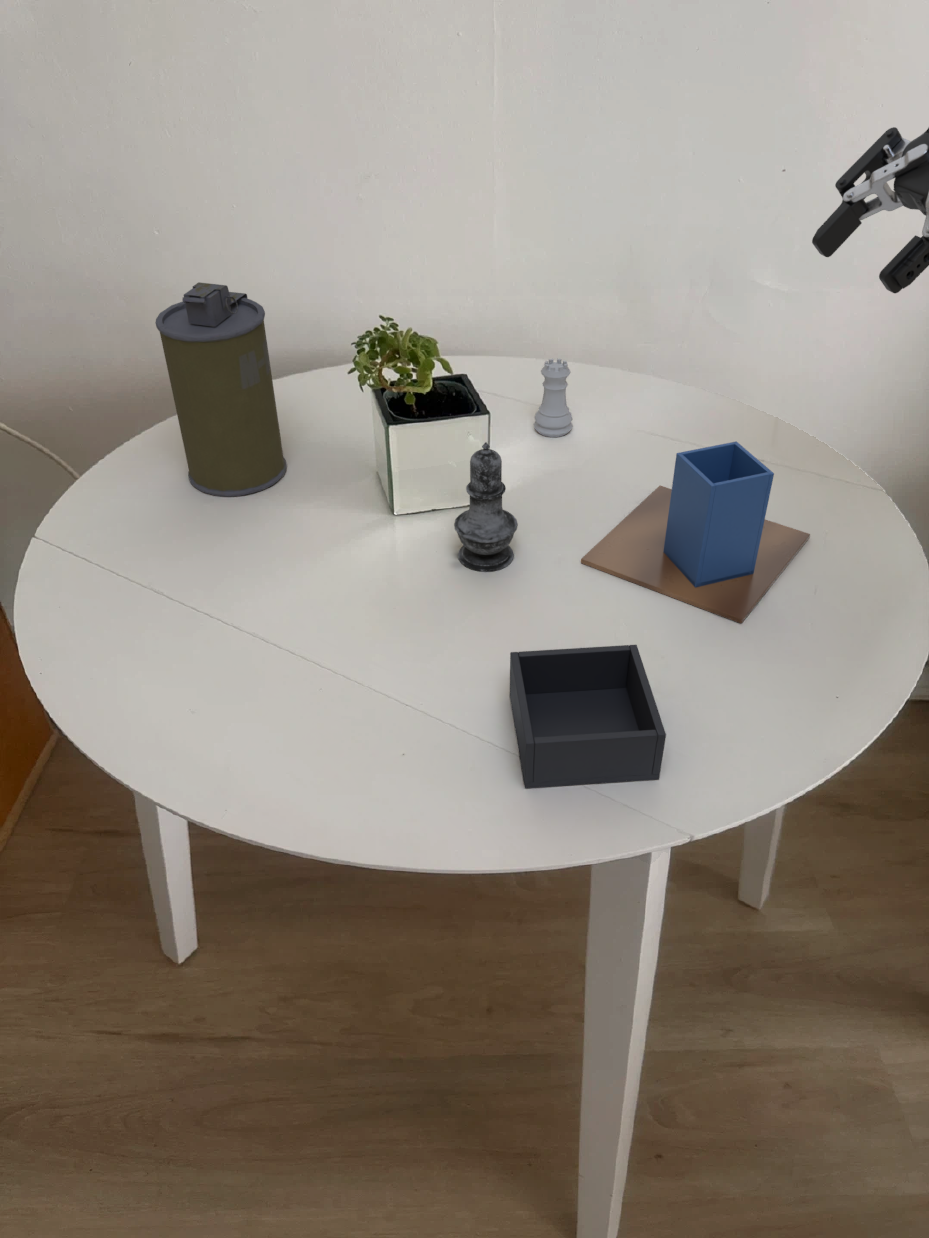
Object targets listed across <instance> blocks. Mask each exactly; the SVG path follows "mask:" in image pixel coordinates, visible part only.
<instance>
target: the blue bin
mask: <svg viewBox="0 0 929 1238" xmlns="http://www.w3.org/2000/svg"><path fill="white" fill-rule="evenodd" d="M675 454H676V455H675V461H674V462H675V463H674V470H673V478H672V483H671V489H672V491H671V499H670V506H669V514H668V521H667V529H666V536H665V544H664V551H663V552H664V553H665V554H666V555H667V556H668V558H669V559H670V560H671V561H672V562H673V563H674V564H675V565H676V567H677V568H678V569H679V570H680V571H681V572H682V573H683V574H684V575H685V577H686V578H687V579H688V580H689V581H690V582H691V583H692V584H693V586H694V587H700V586H704V585H708V584H713V583H717V582H721V581H725V580H730V579H734V578H738V577H742V576H747V575H751V574H754V569H755V564H756V559H757V554H758V550H759V545H760V540H761V535H762V530H763V525H764V520H766V515H767V510H768V506H769V501H770V496H771V490H772V485H773V481H774V477H775V476H774V475H775V473H774V472H773V471H772V470H771V469H770V468H768V467H767V466H766V465H765V464H764V463H763V462H761V461H760V459H758V458H757V457H755V455H753V454H752V453H751V452H750V451H748V449H746V448H745V447H744V446H743V445H741V444H740V443H739V442H738V441H732V442H726V443H721V444H716V445H711V446H706V447H700V448H695V449H691V450H685V451H680V452H676V453H675Z"/></svg>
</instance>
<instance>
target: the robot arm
mask: <svg viewBox="0 0 929 1238" xmlns="http://www.w3.org/2000/svg"><path fill="white" fill-rule="evenodd" d="M864 174H865V177H864V180H863V181H861V183H860V184H857V185H855V183H856V182H857V181H858V180H859V179H860V178H861V177H862V176H863V175H864ZM893 179H894V181H893V190H892V189H891V186H890V185H889V183H888V182H889V181H891V180H893ZM834 187H835V189H836V190H837V192H838V193H839V195H840V196H841V198H842V200H841V203H840V204H839V206H838V207H837V208H836V209H835V210H834V211H833V212H832V213H831V214H830V216H829V217H828V218H827V219H826V220H825V221H824V222H823V223H822V224H821V225H820V226H819V227H818V228H817V229H816V232H815V234H814V235H813V237H812V240H811V243H812V245H813V246H814V248H815V249H816V250H817V252H818V253H819V254H820V255H821V256H823V257H825V258H830V257H832V255H834V254H835V252H836V251H837V250H839V249H840V248H841V247H842V245H843V244H844V243H845V242H846V241H847V239H849V238H850V236H851V235H852V234H853V233H854V232H856V230H857V229H858V228H859V227H860V226H861V225H862V223H863V222H862V221H864V220H865V219H868V218H869V217H871V216H874V215H875V214H878V213H879V212H880V213H881V212H882V211H886V212H892V211H896V210H897V209H899V208H901V207H904V208H906V209H909V210H915V211H916V210H917V211H920V213H921V214H923V216H925V218H924V223H923V227H922V230H921V235H922V236H921V237H920V236H918V235H914V236H913V237H912V238H911V239H910V240H909V241H908V242H907V243H906V244H905V246H904V247H902V249H901V250H899V252H898V253H897V254H896V255H895V256H894V257H893V258H892V259H891V260H890V261H889V262H888V263H887V264H886V265H885V266H884V268H882V270H881V271H880V272H879V275H878V277H879V278H878V279H879V281H880V282H881V284H882V285H883V286H884V288H885V289H886V290H887V291H888V292H890V293H892V294H898V293H900V292H901V291H902V289H906V288H907V287H909V286H911V284H912V283H913V282H914V281H915V280H917V278H918V277H919V276H920V275H921V274H922V273H924V271H925V270H926V269H927V268H928V267H929V127H927V129H926V130H925V131H924V132H923V133H922V134H920V135H919V136H917V137H916V138H914V139H913V140H909V139H906V138H904V137H903V136H902V134H901V133H900V131H899V129H898V127H894V126H893V127H890V128H888V129H886V130H885V132H884V133H883V134H882V135H880V136H879V138H878V139H876V141H875V142H874V143H873V144H872V145H871V146H870V147H869V148H868V149H867V150H866V151H865V152H864V153H863V154H862V155H861V156H860V157H858V159H857V160H856V161H855V162H853V164H852V165H851V166H850V167H849V168H848V169H847V170H846V171H845V172H844V173H843V174H842V175H841V176H840V177H839V178H838V179H837V180H836V182H835V186H834ZM872 195H876V197H874V198H872V199H870V200H868V201H865V199H866V198H867V197H869V196H872Z"/></svg>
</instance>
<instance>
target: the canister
mask: <svg viewBox="0 0 929 1238" xmlns="http://www.w3.org/2000/svg"><path fill="white" fill-rule="evenodd" d="M265 317H266V312H265V309H264V306H262V305H261V304H260V303H258V302H257V301H255V300H253V299H250V298H248V293H244V292H235V291H229V287H228V285H226V284H217V283H207V282H197V283H196V284H194V285H193V286H192V288H190V290H188V291H186V292H185V293H183V297H182V301H180V302H177V303H173V304H171V305H170V306H168V307H167V308H165V309H164V310H162V311H161V312H159V314H158V315H157V316H156V318H155V327H156V329H157V330H158V332H159V335H160V340H161V345H162V349H163V354H164V360H165V364H166V368H167V373H168V377H169V383H170V387H171V393H172V398H173V402H174V406H175V411H176V417H177V421H178V425H179V429H180V435H181V439H182V443H183V448H184V453H185V459H186V462H187V463H186V464H187V468H188V472H187V474H188V475H187V476H188V480H189V483H190V485H192V486H193V487H194V488H195V489H196V490H198V491H200V492H202V493H204V494H207V495H211V496H217V497H240V496H246V495H250V494H254V493H259V492H262V491H264V490H266V489H268V488H270V487H271V486H273V485H275V484H276V483H278V481H280V480H281V479H282V478H283V477H284V476H285V474H286V472H287V467H288V466H287V465H288V464H287V460H286V458H285V457H284V451H283V444H282V437H281V431H280V424H279V423H280V422H279V416H278V410H277V403H276V395H275V389H274V381H273V376H272V375H273V374H272V368H271V362H270V361H271V360H270V353H269V346H268V339H267V333H266V332H267V331H266V327H265V325H266V324H265Z"/></svg>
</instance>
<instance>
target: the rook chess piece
mask: <svg viewBox="0 0 929 1238" xmlns="http://www.w3.org/2000/svg"><path fill="white" fill-rule="evenodd" d="M568 366H569V365H568V361H567V360H562V358H556V361H555V362H554V358H549V359H548V360H545V361H544V366H542V368H541V369H540V374H541V375H542V376H543V377H544V380H543V382H542V384H541V385H542V386H543V395H542V399H541V404H540V406H539V407H538V410H537V411H536V412H535V415H534V423H533V428H534V429H535V431H536V432H537V433H538V434H540V435H541V436H544V437H548V438H559V437H563V436H566V435H567V434H569V433H570V431H571V430H573V427H574V426H573V423H572V422H573V415H572V412H571V411H570V407H569V406H568V405H567V396H566V395H567V387H568V386H569V384H568V382H567V378H568V377H569V376H570V374H571V373H572V372H571V369H570V368H569V367H568Z"/></svg>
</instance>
